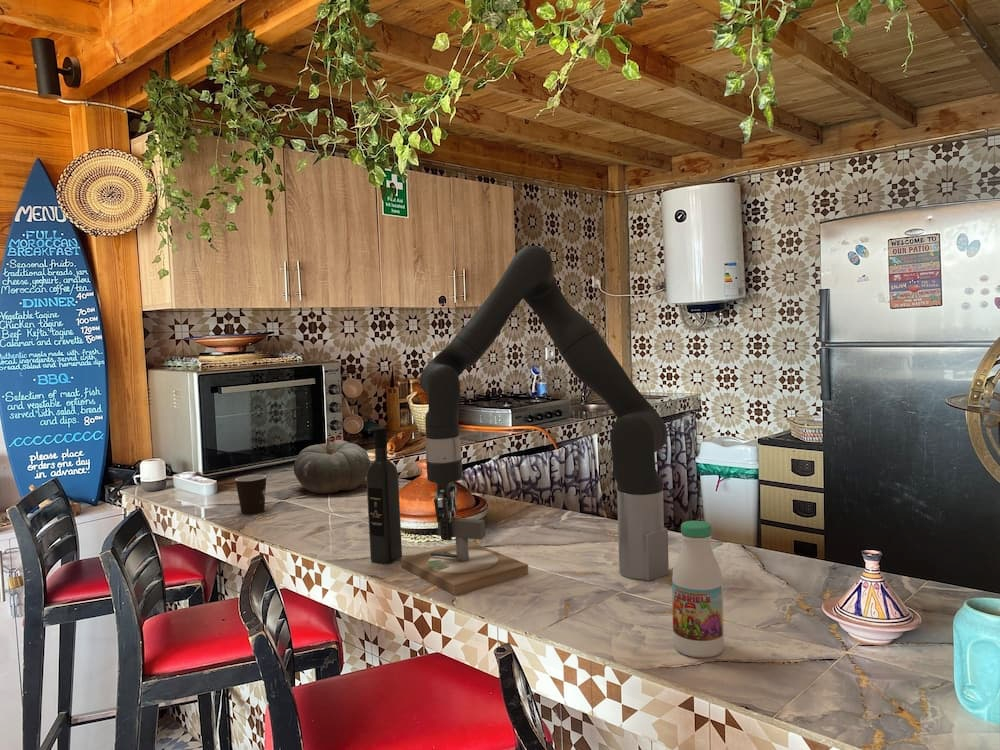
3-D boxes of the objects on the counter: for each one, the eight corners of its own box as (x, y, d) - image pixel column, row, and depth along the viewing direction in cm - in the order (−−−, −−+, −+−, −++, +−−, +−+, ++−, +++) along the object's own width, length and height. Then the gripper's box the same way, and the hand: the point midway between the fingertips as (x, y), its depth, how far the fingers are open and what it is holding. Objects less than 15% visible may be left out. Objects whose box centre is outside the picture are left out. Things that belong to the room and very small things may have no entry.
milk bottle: (674, 635, 121) (672, 516, 120) (723, 639, 119) (721, 518, 117) (671, 656, 114) (668, 529, 112) (724, 661, 111) (721, 531, 110)
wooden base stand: (528, 573, 153) (527, 562, 153) (455, 595, 143) (454, 583, 143) (470, 549, 171) (469, 539, 171) (401, 567, 161) (400, 556, 161)
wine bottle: (388, 565, 163) (382, 430, 160) (368, 561, 165) (361, 429, 163) (404, 557, 168) (397, 426, 165) (384, 554, 170) (377, 425, 168)
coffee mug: (256, 516, 210) (253, 481, 209) (231, 514, 213) (228, 480, 212) (280, 506, 221) (278, 473, 220) (256, 504, 224) (254, 472, 223)
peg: (486, 559, 156) (485, 519, 155) (481, 563, 154) (479, 523, 153) (434, 553, 161) (433, 515, 161) (428, 557, 159) (427, 518, 158)
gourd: (351, 469, 261) (348, 422, 256) (388, 491, 242) (385, 441, 237) (284, 488, 245) (279, 439, 241) (317, 513, 227) (313, 461, 222)
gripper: (455, 464, 149) (460, 547, 151) (466, 450, 163) (470, 527, 164) (419, 465, 150) (424, 547, 151) (433, 451, 164) (437, 527, 165)
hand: (448, 536), depth 158 cm, fingers closed on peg, 3 cm apart
